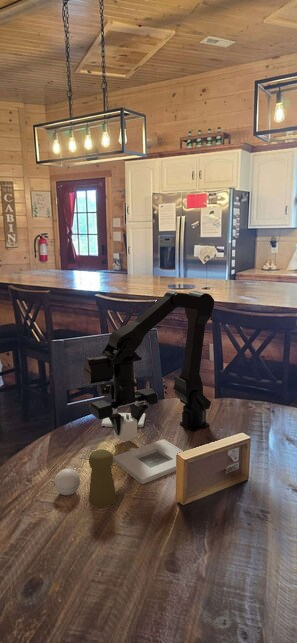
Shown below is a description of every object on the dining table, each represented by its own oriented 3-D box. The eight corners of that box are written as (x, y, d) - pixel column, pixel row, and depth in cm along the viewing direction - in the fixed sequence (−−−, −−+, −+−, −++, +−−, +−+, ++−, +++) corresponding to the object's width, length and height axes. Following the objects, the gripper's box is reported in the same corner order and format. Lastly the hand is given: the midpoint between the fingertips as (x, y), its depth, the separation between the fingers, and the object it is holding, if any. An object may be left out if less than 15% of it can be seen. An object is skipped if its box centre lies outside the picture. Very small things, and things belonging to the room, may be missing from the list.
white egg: (63, 484, 103) (62, 461, 102) (85, 488, 101) (84, 466, 100) (44, 502, 96) (42, 479, 95) (67, 508, 94) (66, 484, 93)
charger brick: (128, 430, 125) (127, 410, 124) (137, 436, 121) (136, 416, 120) (114, 435, 123) (113, 414, 121) (123, 441, 119) (122, 420, 118)
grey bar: (132, 450, 118) (132, 447, 118) (136, 453, 116) (136, 450, 116) (103, 461, 113) (103, 457, 113) (106, 464, 111) (106, 460, 111)
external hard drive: (106, 416, 141) (145, 417, 140) (101, 428, 133) (143, 429, 132) (106, 412, 140) (145, 412, 139) (101, 423, 132) (143, 423, 131)
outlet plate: (163, 443, 122) (163, 439, 121) (195, 462, 111) (195, 458, 111) (113, 461, 113) (112, 456, 112) (141, 484, 102) (141, 479, 102)
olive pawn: (121, 494, 99) (119, 448, 96) (107, 510, 93) (105, 462, 91) (97, 488, 101) (95, 443, 99) (83, 503, 96) (80, 456, 93)
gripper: (136, 364, 130) (137, 414, 133) (78, 377, 120) (81, 431, 123) (159, 373, 121) (159, 427, 125) (98, 388, 111) (101, 446, 114)
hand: (125, 432), depth 122 cm, fingers closed on charger brick, 5 cm apart
